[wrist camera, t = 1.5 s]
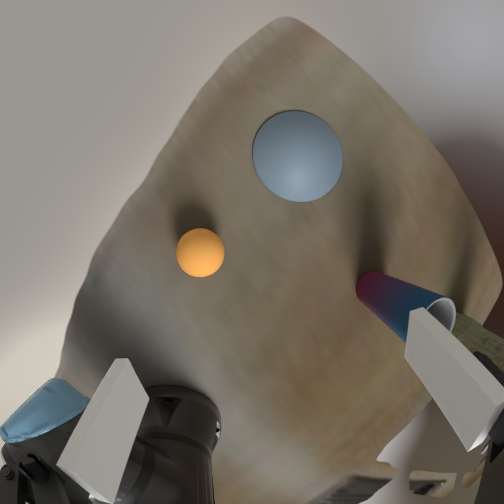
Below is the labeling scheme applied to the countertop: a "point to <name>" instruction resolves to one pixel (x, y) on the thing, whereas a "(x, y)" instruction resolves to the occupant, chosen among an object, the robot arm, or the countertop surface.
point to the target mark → (297, 156)
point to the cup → (402, 302)
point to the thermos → (479, 339)
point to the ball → (200, 252)
